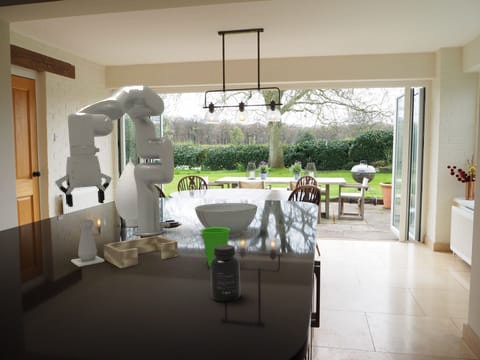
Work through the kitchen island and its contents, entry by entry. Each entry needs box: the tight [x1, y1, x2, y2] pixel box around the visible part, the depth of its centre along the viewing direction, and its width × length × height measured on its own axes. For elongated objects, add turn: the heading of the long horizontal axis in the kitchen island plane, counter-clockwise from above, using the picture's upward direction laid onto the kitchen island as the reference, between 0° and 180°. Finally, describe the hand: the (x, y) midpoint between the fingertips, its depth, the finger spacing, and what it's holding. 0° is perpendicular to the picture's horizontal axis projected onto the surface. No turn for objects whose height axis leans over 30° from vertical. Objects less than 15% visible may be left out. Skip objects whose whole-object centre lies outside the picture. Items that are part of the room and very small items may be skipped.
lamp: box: [114, 156, 138, 228], centre depth 188 cm, size 16×16×35 cm
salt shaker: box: [77, 219, 98, 261], centre depth 122 cm, size 6×6×13 cm
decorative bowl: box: [194, 202, 259, 238], centre depth 161 cm, size 27×27×12 cm
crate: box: [103, 235, 179, 269], centre depth 126 cm, size 20×14×5 cm
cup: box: [200, 227, 230, 268], centre depth 114 cm, size 9×9×11 cm
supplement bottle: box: [210, 244, 241, 303], centre depth 88 cm, size 7×7×12 cm
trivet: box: [70, 255, 105, 267], centre depth 122 cm, size 8×8×1 cm
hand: (86, 204), depth 122 cm, fingers open, 9 cm apart
